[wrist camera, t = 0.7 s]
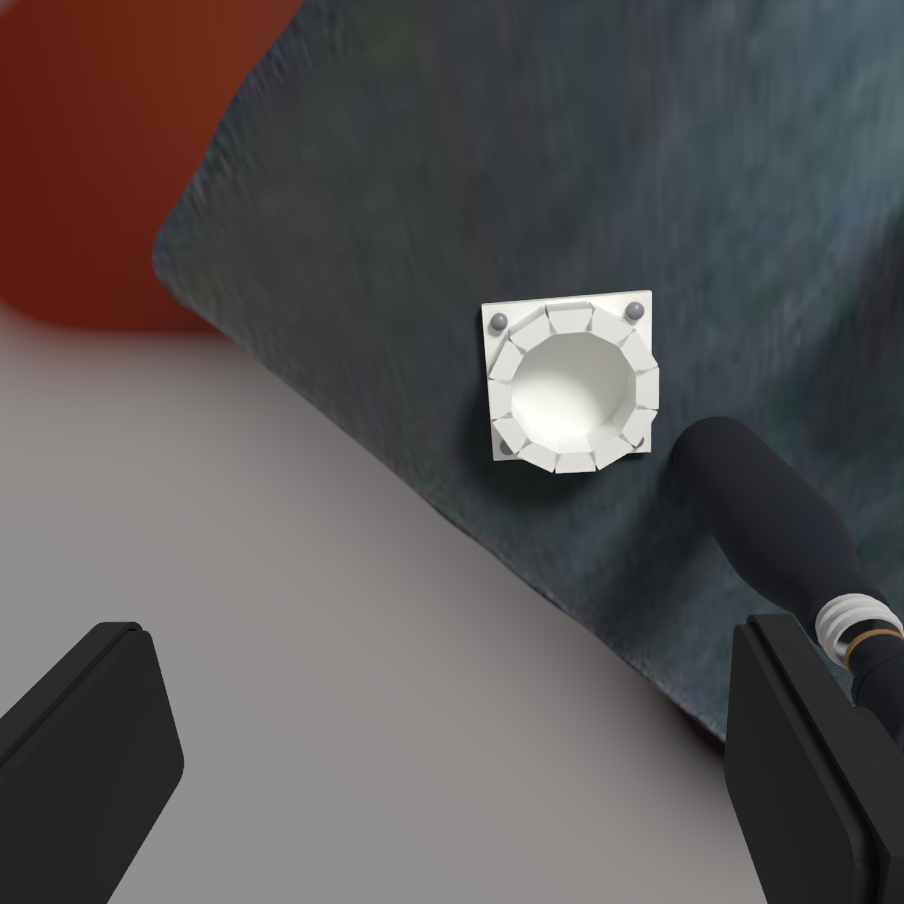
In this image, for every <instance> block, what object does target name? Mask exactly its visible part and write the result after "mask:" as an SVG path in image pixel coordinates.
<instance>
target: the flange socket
mask: <svg viewBox="0 0 904 904" xmlns="http://www.w3.org/2000/svg"><path fill="white" fill-rule="evenodd" d="M482 317H483V329H484V342H485V355H486V368H487V381H488V394H489V407H490V420H491V433H492V446H493V459H494V461H498V460H515V459H524V460H526V461H528V462H530V463H532V464H535V465H537V466H539V467H541V468H543V469H545V470H547V471H550V472H553V470H554V468H555V471H556V473H572V472H591V471H595V465H596V466H597V468H598V469H599V470H600V469H602V468H604V467H605V466H607V465H609V464H610V463H612V462H614V461H615V460H617V459H619V458H621V457H622V456H624V455H626V454H627V453H638V452H651V422H652V421H653V419H654V417H655V416H656V414H657V411H656V410H655V409H659V368H658V367H657V365H658V364H657V363H656V361H655V359H654V358H653V356H652V355H651V323H652V292H651V291H650V290H643V291H631V292H619V293H607V294H595V295H583V296H571V297H559V298H547V299H535V300H523V301H511V302H499V303H488V304H482Z"/></svg>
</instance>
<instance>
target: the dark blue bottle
mask: <svg viewBox="0 0 904 904" xmlns="http://www.w3.org/2000/svg"><path fill="white" fill-rule="evenodd" d="M672 463H673V467H674V470H675V474H676V476H677V477H678V479H679V480H680V482H681V484H682V485H683V487H684V489H685V490H686V492H687V493H688V495H689V497H690V498H691V500H692V502H693V503H694V505H695V507H696V508H697V510H698V511H699V513H700V515H701V516H702V518H703V520H704V521H705V523H706V525H707V526H708V528H709V529H710V531H711V533H712V534H713V536H714V538H715V539H716V541H717V543H718V544H719V546H720V547H721V549H722V551H723V552H724V554H725V556H726V557H727V559H728V561H729V562H730V564H731V565H732V567H733V568H734V569H735V571H736V572H737V573H738V575H739V576H740V577H741V578H742V579H743V580H744V581H745V582H746V583H747V584H748V585H749V586H751V587H752V588H753V589H754V590H756V591H757V592H758V593H759V594H761V595H762V596H763V597H765V598H766V599H768V600H769V601H771V602H772V603H774V604H776V605H777V606H779V607H781V608H783V609H785V610H787V611H788V612H790V613H792V614H794V615H795V617H796V618H797V620H798V621H799V623H800V624H801V625H802V627H803V628H804V630H805V631H806V633H807V634H808V635H809V637H810V638H811V640H812V641H813V642H814V643H815V644H816V645H818V646H819V647H821V648H822V649H824V650H825V652H826V653H827V655H828V656H829V657H830V659H831V660H832V661H833V662H835V663H836V664H838V665H839V666H841V667H843V668H844V669H846V670H847V671H850V673H851V674H852V676H853V677H854V679H853V684H852V689H851V693H852V698H853V703H854V704H855V706H856V707H865V708H867V709H869V710H871V711H872V713H873V714H874V715H875V716H876V717H877V718H878V719H879V721H880V722H881V724H882V725H883V727H884V728H885V729H886V731H887V732H888V734H889V735H890V737H891V738H892V740H893V741H894V742H895V744H896V745H897V747H898V748H899V750H900V751H901V752H902V754H903V755H904V631H903V626H902V624H901V622H900V621H899V619H898V618H897V616H896V615H894V614H893V613H892V612H891V611H890V606H889V603H888V602H887V600H886V599H885V597H884V596H883V594H882V593H881V592H880V591H879V590H878V589H877V588H876V587H875V586H874V585H873V584H872V583H871V582H870V581H869V580H868V579H867V578H866V577H865V576H864V574H863V573H862V572H861V569H860V565H859V560H858V556H857V552H856V548H855V544H854V542H853V540H852V538H851V536H850V534H849V532H848V530H847V528H846V526H845V525H844V523H843V521H842V520H841V518H840V517H839V515H838V514H837V512H836V511H835V509H834V508H833V506H832V505H831V504H830V503H829V502H828V501H827V500H826V499H824V498H823V497H822V496H821V495H820V494H819V493H818V492H817V491H816V490H815V489H814V488H813V487H812V486H810V485H809V484H808V483H807V482H806V481H805V480H804V479H803V478H802V477H801V476H800V475H799V474H798V473H797V472H795V471H794V470H793V469H792V468H791V467H790V466H789V465H788V464H787V463H786V462H785V461H784V460H783V459H781V458H780V457H779V456H778V455H777V454H776V453H775V452H774V451H773V450H772V449H771V448H770V447H769V446H768V445H766V444H765V443H764V442H763V441H762V440H761V439H760V438H759V437H758V436H757V435H756V434H755V433H754V432H753V431H751V430H750V429H749V428H748V427H747V426H745V425H744V424H742V423H741V422H740V421H738V420H735V419H731V418H728V417H710V418H707V419H703V420H700V421H698V422H696V423H695V424H693V425H692V426H690V427H689V428H687V429H686V430H685V431H684V433H683V434H682V435H681V436H680V437H679V438H678V440H677V443H676V445H675V447H674V450H673V460H672Z"/></svg>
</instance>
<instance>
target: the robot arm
mask: <svg viewBox="0 0 904 904" xmlns="http://www.w3.org/2000/svg"><path fill="white" fill-rule="evenodd" d="M183 768H184V756H183V752H182V749H181V744H180V741H179V737H178V733H177V730H176V726H175V722H174V718H173V715H172V711H171V707H170V704H169V700H168V696H167V692H166V689H165V685H164V681H163V678H162V674H161V670H160V667H159V663H158V659H157V656H156V651H155V648H154V644H153V640H152V637H151V635H150V634H149V633H148V632H147V631H143V630H142V627H141V626H140V625H139V624H138V623H136V622H103V623H99V624H97V625H96V626H94V627H93V628H92V629H91V630H90V631H89V632H88V633H87V634H86V635H85V636H84V637H83V638H82V639H81V640H80V641H79V642H78V643H77V644H76V645H75V646H74V647H73V648H72V649H71V650H70V651H69V652H68V653H67V654H66V655H65V656H64V657H63V658H62V659H61V660H60V661H59V662H58V663H57V664H56V665H55V666H54V667H53V668H52V669H51V670H50V671H48V672H47V673H46V675H44V676H43V677H42V678H41V680H40V681H38V682H37V683H36V684H35V685H34V686H33V687H32V688H31V689H30V690H29V691H28V692H27V693H26V694H25V695H24V696H23V697H22V698H21V699H20V700H19V701H18V702H17V703H16V704H15V705H14V706H13V707H12V708H11V709H10V710H9V711H8V712H7V713H6V714H5V715H4V716H3V717H2V718H1V719H0V904H107V902H108V901H109V899H110V897H111V896H112V894H113V892H114V890H115V889H116V887H117V886H118V884H119V882H120V881H121V879H122V877H123V876H124V874H125V872H126V871H127V869H128V867H129V866H130V864H131V862H132V861H133V859H134V857H135V855H136V854H137V852H138V850H139V849H140V847H141V845H142V844H143V842H144V840H145V839H146V837H147V835H148V834H149V832H150V830H151V829H152V827H153V825H154V823H155V822H156V820H157V819H158V817H159V815H160V814H161V812H162V810H163V808H164V807H165V805H166V803H167V802H168V800H169V798H170V797H171V795H172V793H173V792H174V790H175V788H176V787H177V785H178V783H179V781H180V779H181V776H182V774H183ZM724 771H725V779H726V785H727V789H728V792H729V795H730V798H731V801H732V804H733V807H734V809H735V812H736V815H737V818H738V821H739V823H740V826H741V829H742V832H743V835H744V838H745V841H746V843H747V846H748V849H749V852H750V855H751V858H752V860H753V863H754V866H755V869H756V872H757V874H758V877H759V880H760V883H761V886H762V889H763V891H764V894H765V897H766V900H767V903H768V904H904V755H903V754H902V752H901V751H900V750H899V748H898V747H897V745H896V744H895V742H894V741H893V740H892V738H891V737H890V735H889V734H888V732H887V731H886V729H885V728H884V727H883V725H882V724H881V722H880V721H879V719H878V718H877V717H876V716H875V715H874V714H873V713H872V711H871V710H869V709H867V708H865V707H853V706H852V705H851V703H850V702H849V700H848V698H847V697H846V695H845V694H844V692H843V691H842V689H841V688H840V686H839V685H838V683H837V682H836V680H835V679H834V677H833V676H832V674H831V673H830V671H829V670H828V668H827V667H826V665H825V664H824V662H823V661H822V659H821V658H820V656H819V655H818V653H817V652H816V650H815V649H814V647H813V646H812V644H811V643H810V641H809V640H808V638H807V637H806V635H805V634H804V632H803V631H802V629H801V628H800V626H799V625H798V623H797V622H796V620H795V619H794V618H793V616H792V615H789V614H762V615H750V616H748V619H747V621H746V625H736V626H735V629H734V636H733V650H732V663H731V677H730V691H729V705H728V719H727V732H726V746H725V761H724Z"/></svg>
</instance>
